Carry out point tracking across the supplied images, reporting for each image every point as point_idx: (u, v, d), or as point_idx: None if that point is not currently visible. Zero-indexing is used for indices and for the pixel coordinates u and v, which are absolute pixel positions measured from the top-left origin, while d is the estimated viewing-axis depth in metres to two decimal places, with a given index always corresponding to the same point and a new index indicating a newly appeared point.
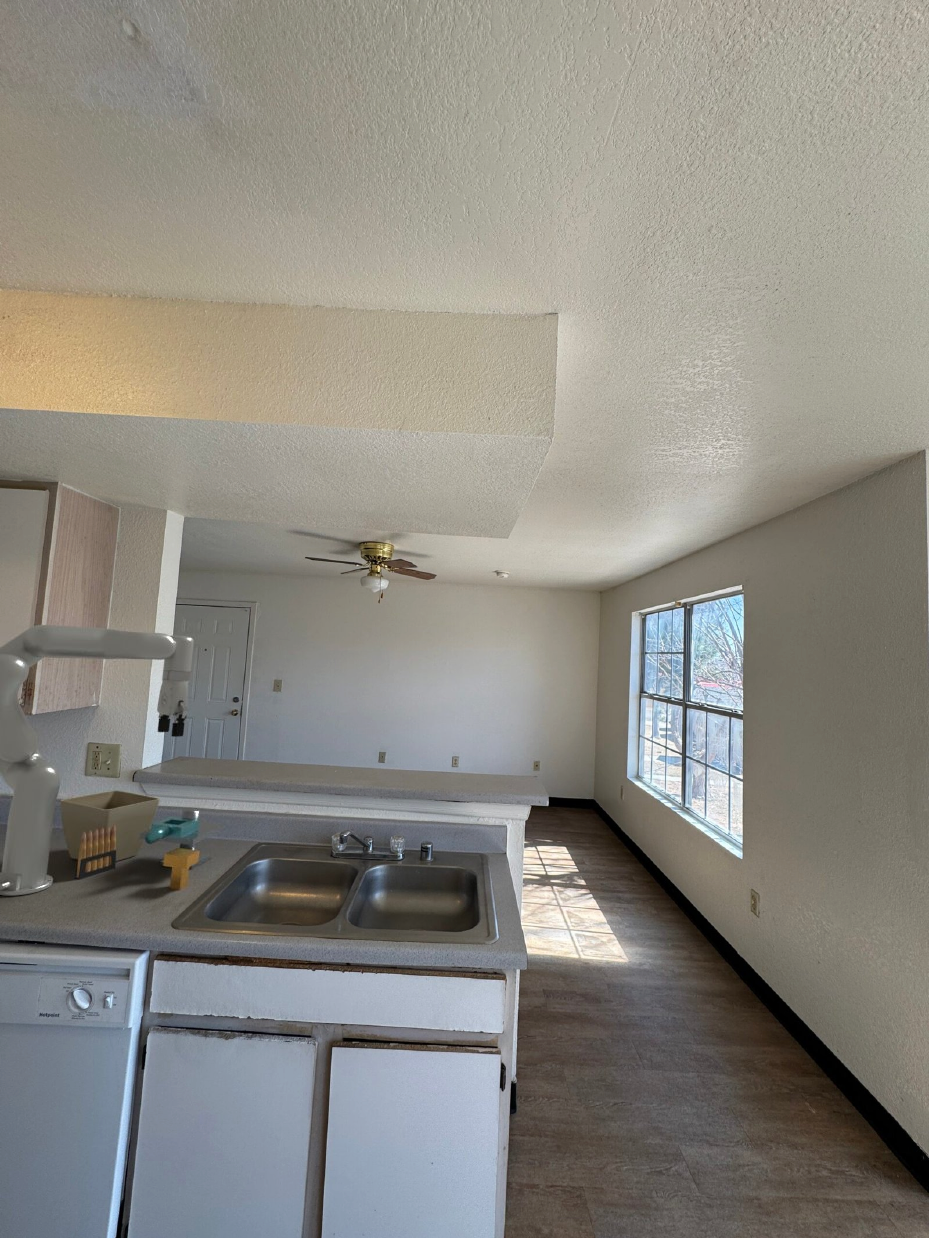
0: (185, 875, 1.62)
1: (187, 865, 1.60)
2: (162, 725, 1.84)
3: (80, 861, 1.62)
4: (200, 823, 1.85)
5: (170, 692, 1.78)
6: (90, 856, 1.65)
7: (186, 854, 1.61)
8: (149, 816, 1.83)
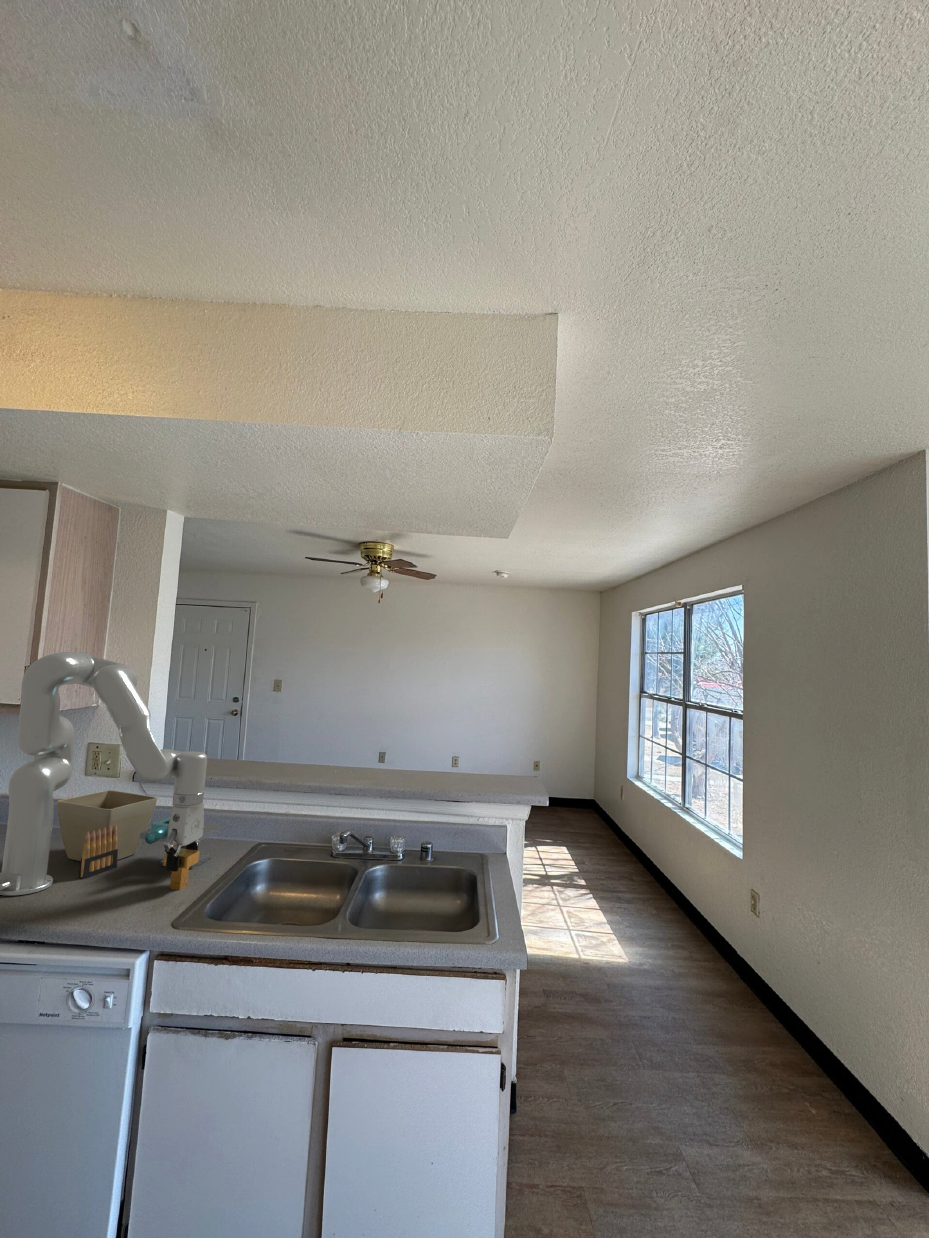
0: (185, 875, 1.62)
1: (187, 865, 1.60)
2: None
3: (84, 861, 1.63)
4: None
5: (202, 813, 1.66)
6: (94, 856, 1.65)
7: (186, 854, 1.61)
8: (147, 814, 1.84)
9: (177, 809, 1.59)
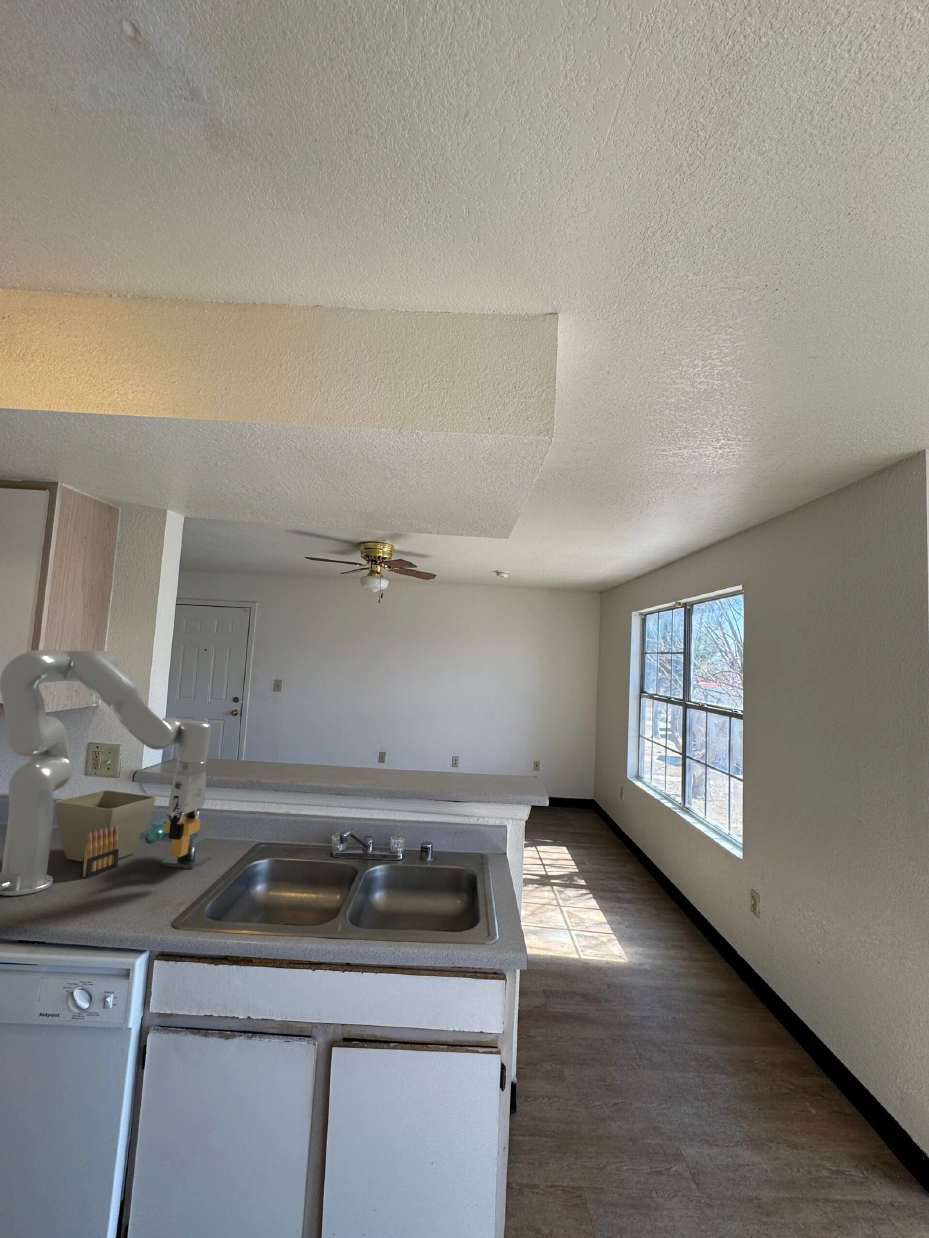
0: (186, 843, 1.63)
1: (188, 832, 1.60)
2: None
3: (87, 860, 1.63)
4: (200, 823, 1.85)
5: (204, 783, 1.67)
6: (96, 855, 1.66)
7: (188, 822, 1.61)
8: (146, 814, 1.85)
9: (179, 777, 1.60)
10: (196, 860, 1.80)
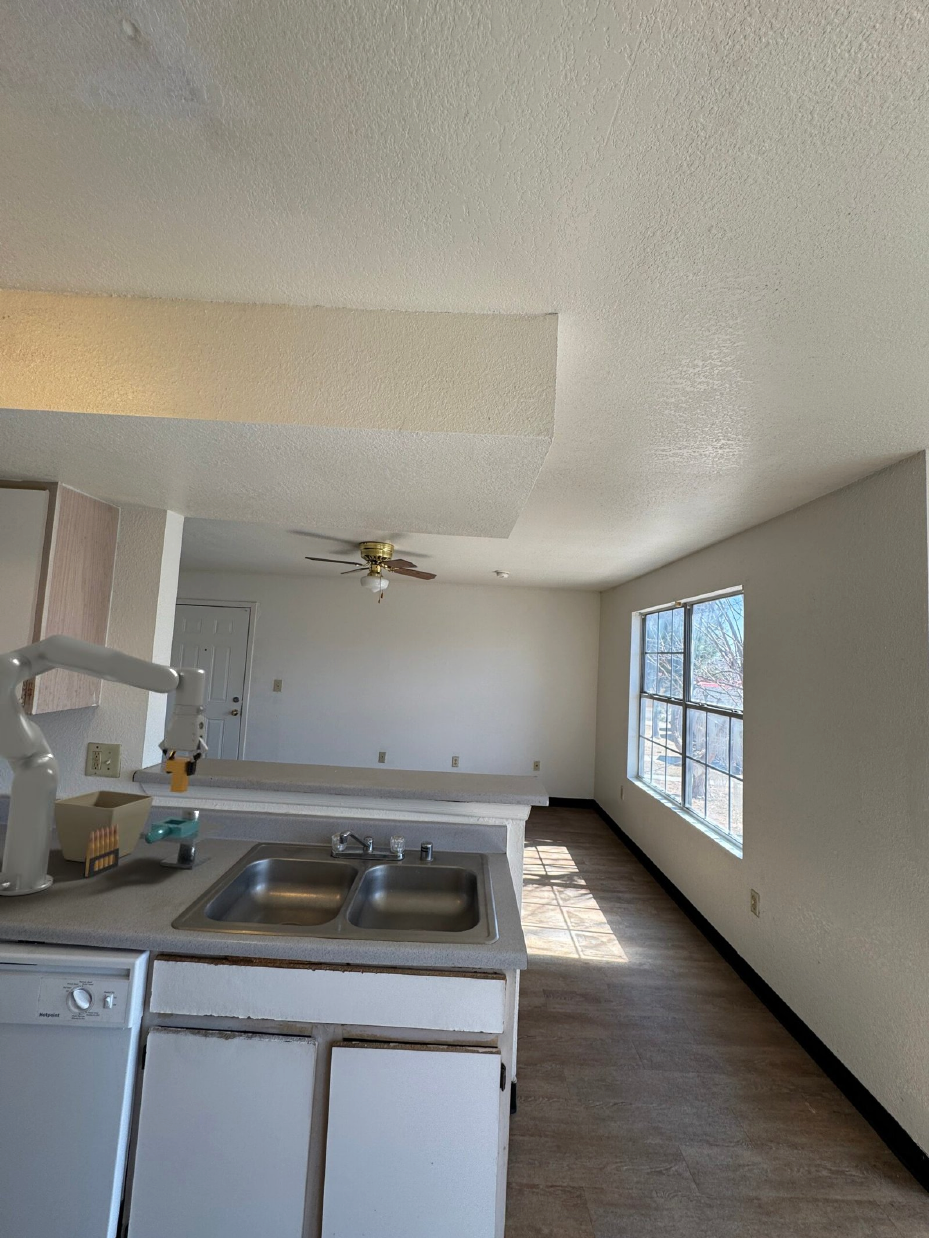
0: None
1: None
2: None
3: (89, 860, 1.64)
4: (200, 823, 1.85)
5: None
6: (98, 855, 1.66)
7: None
8: (144, 813, 1.85)
9: (200, 718, 1.75)
10: (196, 860, 1.80)
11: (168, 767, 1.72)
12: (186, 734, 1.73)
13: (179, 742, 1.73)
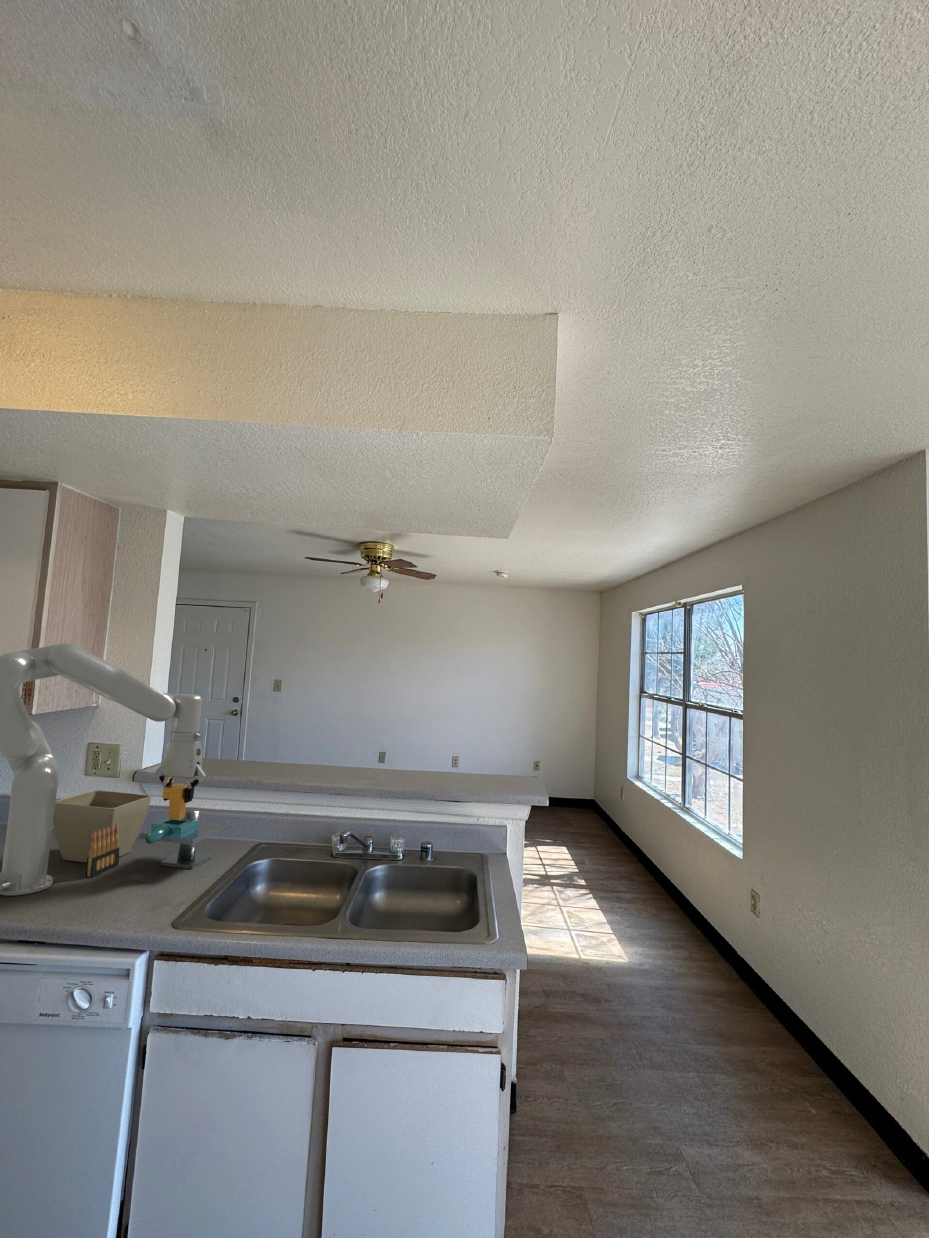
0: None
1: None
2: None
3: (91, 860, 1.64)
4: (200, 823, 1.85)
5: None
6: (99, 854, 1.66)
7: None
8: (143, 813, 1.86)
9: (197, 744, 1.75)
10: (196, 860, 1.80)
11: (165, 794, 1.72)
12: (183, 761, 1.73)
13: (176, 769, 1.73)
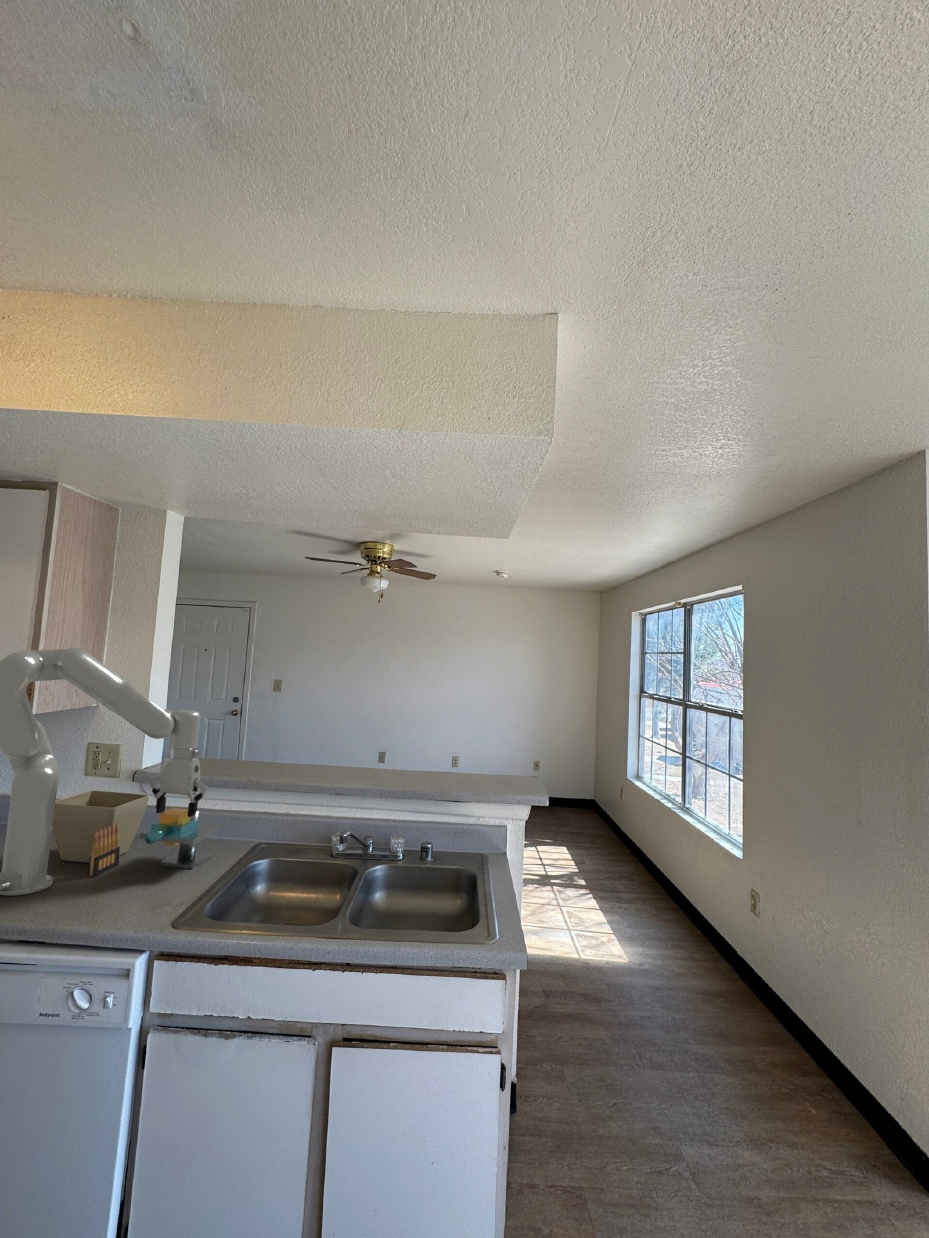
0: None
1: None
2: None
3: (94, 859, 1.64)
4: (200, 823, 1.85)
5: None
6: (101, 854, 1.67)
7: (184, 810, 1.76)
8: (141, 812, 1.86)
9: (196, 761, 1.74)
10: (196, 860, 1.80)
11: (162, 820, 1.71)
12: (181, 778, 1.72)
13: (174, 786, 1.72)
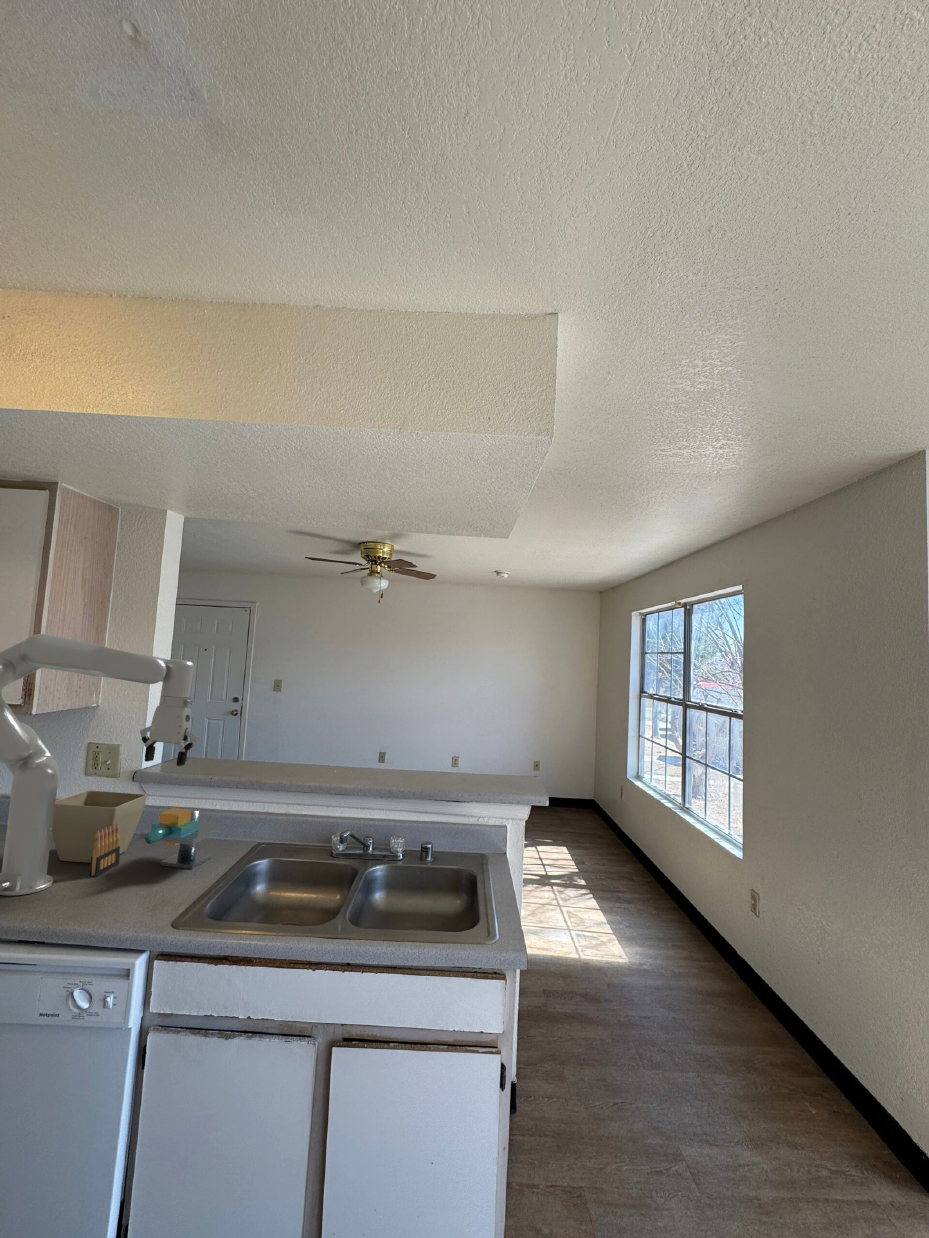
0: None
1: None
2: None
3: (96, 859, 1.65)
4: (200, 823, 1.85)
5: None
6: (103, 854, 1.67)
7: (184, 810, 1.76)
8: (139, 811, 1.87)
9: (187, 710, 1.73)
10: (196, 860, 1.80)
11: (162, 820, 1.71)
12: (172, 726, 1.71)
13: (164, 734, 1.71)
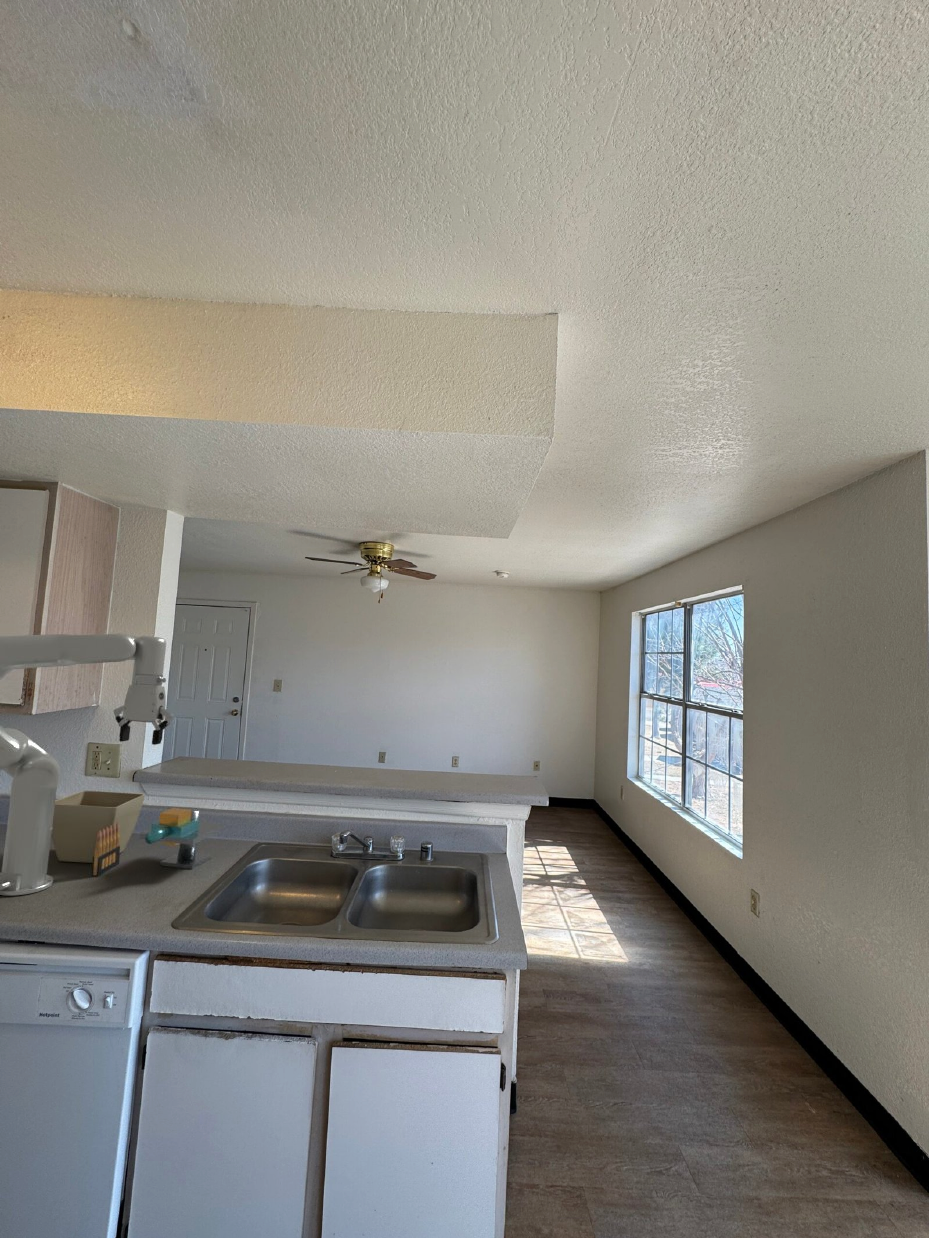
0: None
1: None
2: None
3: (98, 859, 1.65)
4: (200, 823, 1.85)
5: None
6: (104, 853, 1.68)
7: (184, 810, 1.76)
8: (137, 811, 1.87)
9: (161, 688, 1.69)
10: (196, 860, 1.80)
11: (162, 820, 1.71)
12: (145, 704, 1.67)
13: (138, 712, 1.67)
